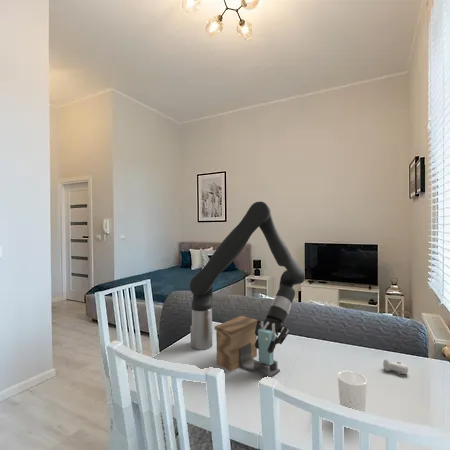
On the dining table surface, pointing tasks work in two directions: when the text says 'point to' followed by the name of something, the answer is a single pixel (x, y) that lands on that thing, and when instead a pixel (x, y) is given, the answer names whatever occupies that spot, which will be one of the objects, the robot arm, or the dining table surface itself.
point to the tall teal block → (265, 346)
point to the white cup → (352, 390)
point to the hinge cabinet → (240, 347)
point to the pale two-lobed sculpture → (395, 366)
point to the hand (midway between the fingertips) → (263, 349)
